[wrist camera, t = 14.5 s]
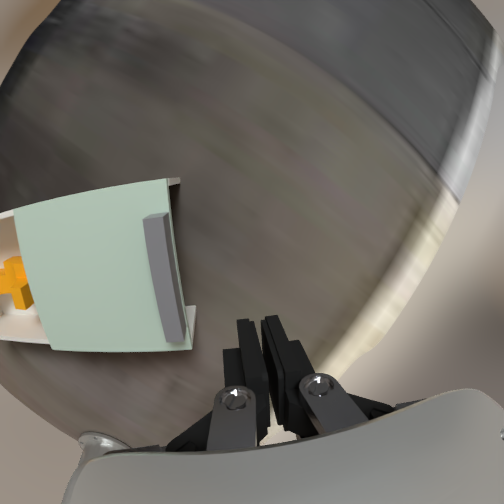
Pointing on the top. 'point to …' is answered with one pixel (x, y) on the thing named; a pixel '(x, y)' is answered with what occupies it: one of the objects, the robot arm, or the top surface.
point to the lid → (106, 269)
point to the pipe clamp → (16, 283)
